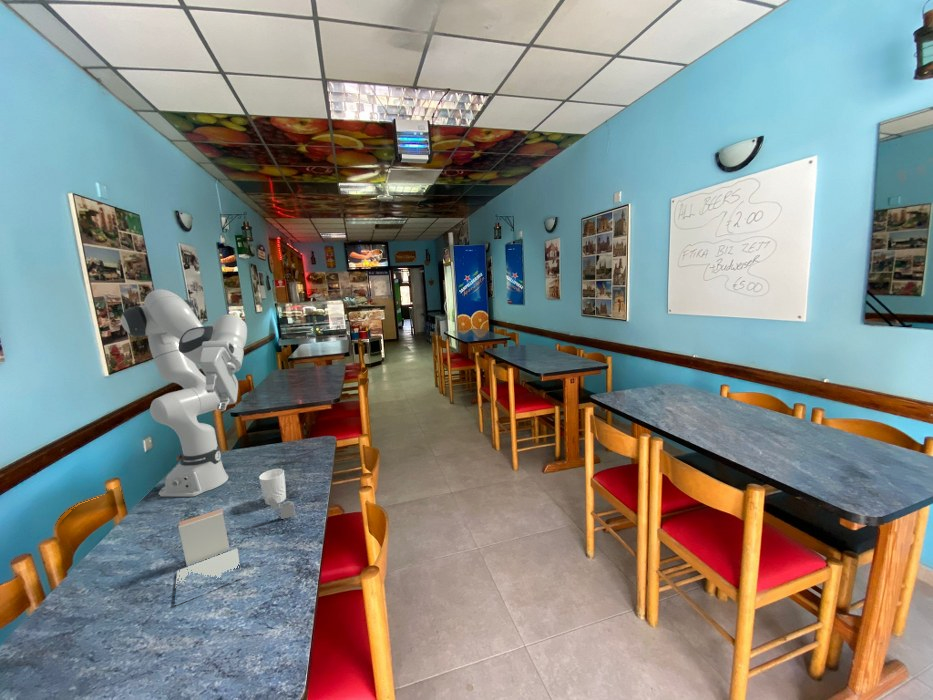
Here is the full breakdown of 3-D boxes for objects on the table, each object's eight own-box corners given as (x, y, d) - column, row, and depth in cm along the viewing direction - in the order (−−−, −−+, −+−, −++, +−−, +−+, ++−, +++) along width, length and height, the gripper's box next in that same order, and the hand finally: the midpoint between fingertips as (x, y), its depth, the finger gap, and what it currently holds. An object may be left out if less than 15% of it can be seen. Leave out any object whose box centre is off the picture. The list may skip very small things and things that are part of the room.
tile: (187, 561, 107) (179, 522, 104) (229, 545, 112) (222, 508, 110) (186, 567, 104) (178, 527, 102) (229, 551, 110) (222, 513, 108)
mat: (177, 572, 102) (177, 570, 102) (237, 549, 110) (237, 548, 110) (174, 607, 91) (173, 604, 91) (241, 579, 98) (241, 577, 98)
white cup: (292, 494, 139) (288, 468, 137) (279, 506, 131) (275, 479, 129) (272, 494, 140) (267, 468, 138) (258, 506, 132) (253, 479, 130)
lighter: (295, 513, 126) (291, 491, 125) (295, 516, 125) (291, 493, 123) (271, 520, 123) (267, 497, 122) (271, 523, 122) (267, 500, 120)
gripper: (223, 381, 118) (214, 421, 109) (200, 337, 102) (187, 380, 94) (246, 380, 119) (239, 419, 111) (226, 337, 104) (217, 378, 96)
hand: (215, 400), depth 102 cm, fingers open, 8 cm apart
